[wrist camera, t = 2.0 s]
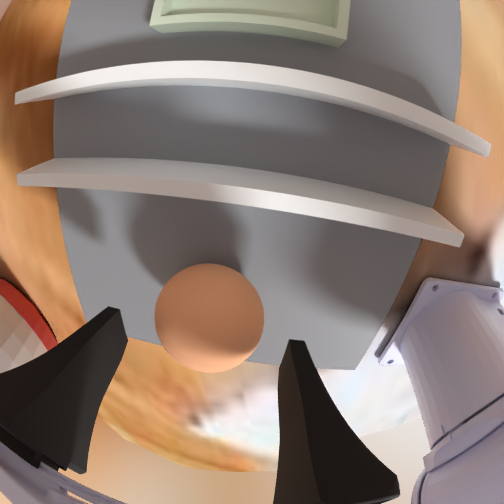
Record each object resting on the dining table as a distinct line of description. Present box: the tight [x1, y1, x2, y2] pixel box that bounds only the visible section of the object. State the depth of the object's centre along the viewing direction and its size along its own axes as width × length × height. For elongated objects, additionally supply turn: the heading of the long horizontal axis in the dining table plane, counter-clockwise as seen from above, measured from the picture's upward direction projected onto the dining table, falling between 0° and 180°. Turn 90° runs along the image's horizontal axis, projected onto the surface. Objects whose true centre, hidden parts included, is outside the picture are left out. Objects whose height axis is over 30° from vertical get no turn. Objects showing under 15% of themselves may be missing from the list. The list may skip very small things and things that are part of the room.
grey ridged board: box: [15, 0, 491, 370], centre depth 10 cm, size 20×26×4 cm
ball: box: [154, 263, 264, 373], centre depth 12 cm, size 5×5×5 cm
